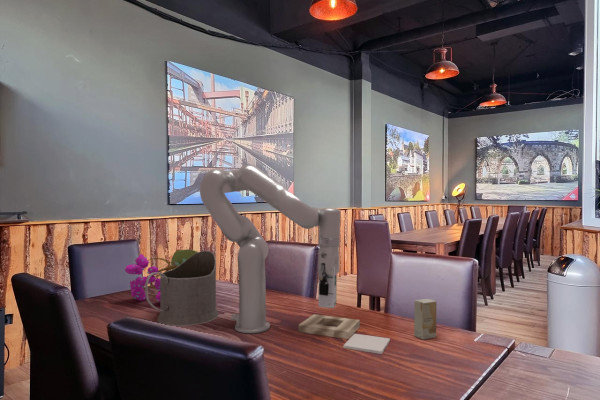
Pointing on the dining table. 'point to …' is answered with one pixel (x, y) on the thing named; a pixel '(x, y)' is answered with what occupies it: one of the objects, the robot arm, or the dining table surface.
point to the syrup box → (329, 293)
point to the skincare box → (425, 319)
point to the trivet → (367, 343)
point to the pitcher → (188, 292)
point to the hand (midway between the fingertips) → (327, 292)
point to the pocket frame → (318, 327)
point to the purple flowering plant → (142, 263)
